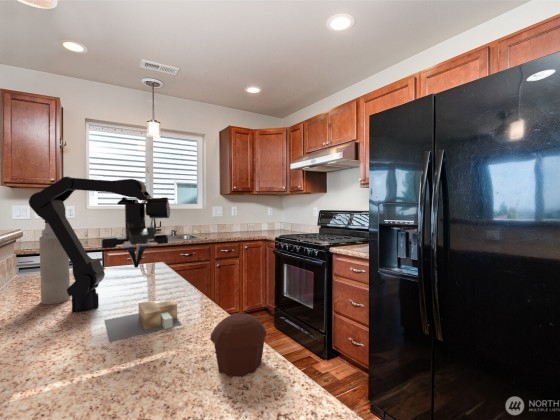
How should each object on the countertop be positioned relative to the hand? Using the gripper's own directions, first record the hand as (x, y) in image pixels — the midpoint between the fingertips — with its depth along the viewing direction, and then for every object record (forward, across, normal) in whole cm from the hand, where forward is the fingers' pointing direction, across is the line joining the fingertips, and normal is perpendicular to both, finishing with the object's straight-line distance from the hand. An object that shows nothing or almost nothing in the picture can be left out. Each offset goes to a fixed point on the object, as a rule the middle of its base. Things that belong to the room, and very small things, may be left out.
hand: (136, 267), depth 94 cm
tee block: (+12, +3, -16) cm, 20 cm away
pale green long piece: (+12, +4, -16) cm, 21 cm away
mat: (+13, -1, -16) cm, 21 cm away
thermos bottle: (+13, -22, +24) cm, 35 cm away
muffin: (+13, +12, -49) cm, 52 cm away
